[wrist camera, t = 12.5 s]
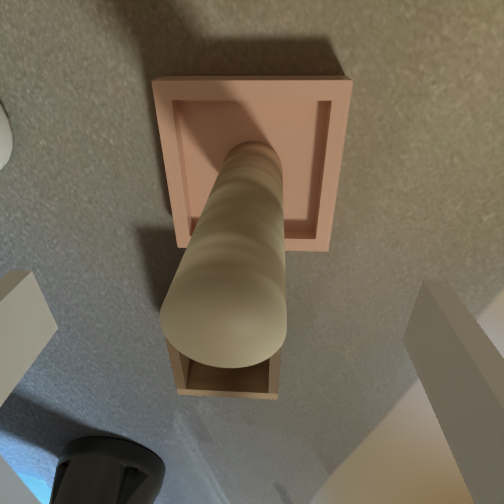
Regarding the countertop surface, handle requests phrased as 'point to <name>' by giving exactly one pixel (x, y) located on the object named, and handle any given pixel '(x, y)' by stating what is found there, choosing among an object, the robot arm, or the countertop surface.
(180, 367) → the small wooden box
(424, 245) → the countertop surface
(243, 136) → the tray
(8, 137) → the bottle
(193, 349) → the dowel
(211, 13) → the countertop surface
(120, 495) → the robot arm
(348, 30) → the countertop surface
